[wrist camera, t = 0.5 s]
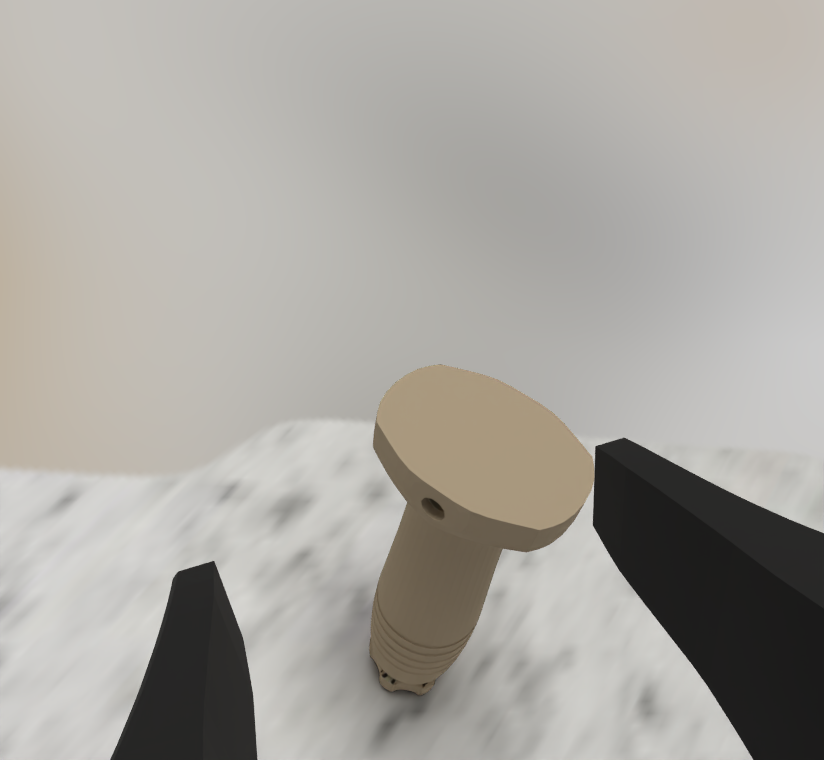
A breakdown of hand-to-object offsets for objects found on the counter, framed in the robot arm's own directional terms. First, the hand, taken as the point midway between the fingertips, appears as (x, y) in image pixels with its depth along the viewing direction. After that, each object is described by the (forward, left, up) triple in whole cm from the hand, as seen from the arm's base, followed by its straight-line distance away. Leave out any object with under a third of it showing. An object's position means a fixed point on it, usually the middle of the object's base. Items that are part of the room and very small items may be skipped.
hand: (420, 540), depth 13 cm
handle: (+6, -3, -19) cm, 20 cm away
